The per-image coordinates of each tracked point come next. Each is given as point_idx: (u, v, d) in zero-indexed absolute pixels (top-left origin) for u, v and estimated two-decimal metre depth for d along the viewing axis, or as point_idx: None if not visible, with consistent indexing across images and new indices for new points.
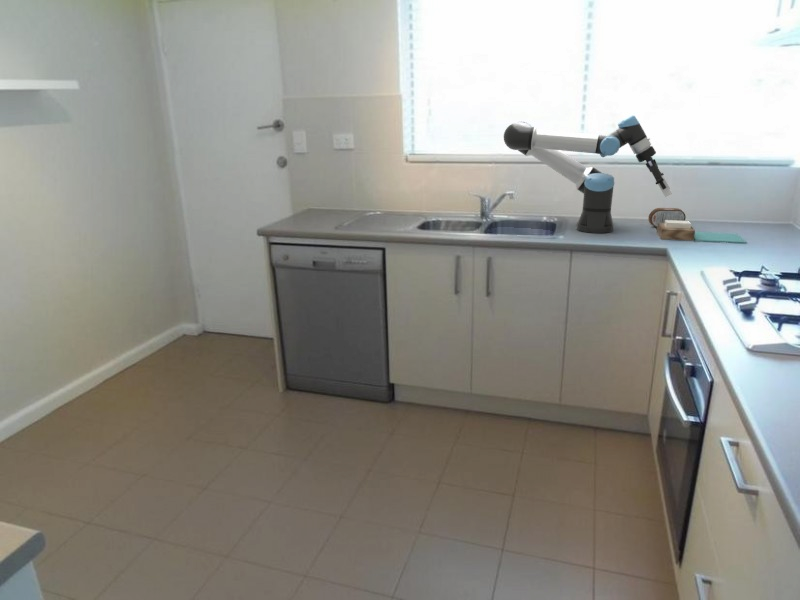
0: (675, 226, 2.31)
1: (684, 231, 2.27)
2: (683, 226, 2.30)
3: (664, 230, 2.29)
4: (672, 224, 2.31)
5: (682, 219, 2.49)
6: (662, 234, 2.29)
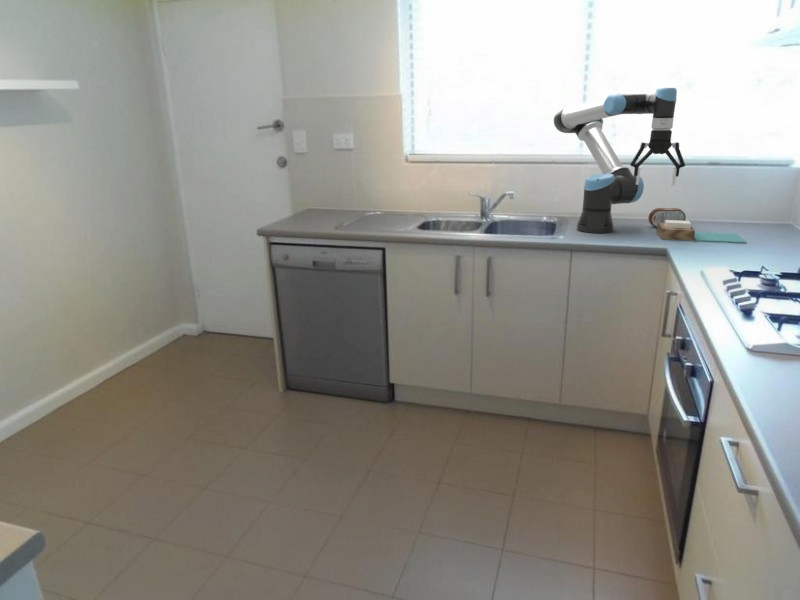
0: (675, 226, 2.31)
1: (684, 231, 2.27)
2: (683, 226, 2.30)
3: (664, 230, 2.29)
4: (672, 224, 2.31)
5: (682, 219, 2.49)
6: (662, 234, 2.29)
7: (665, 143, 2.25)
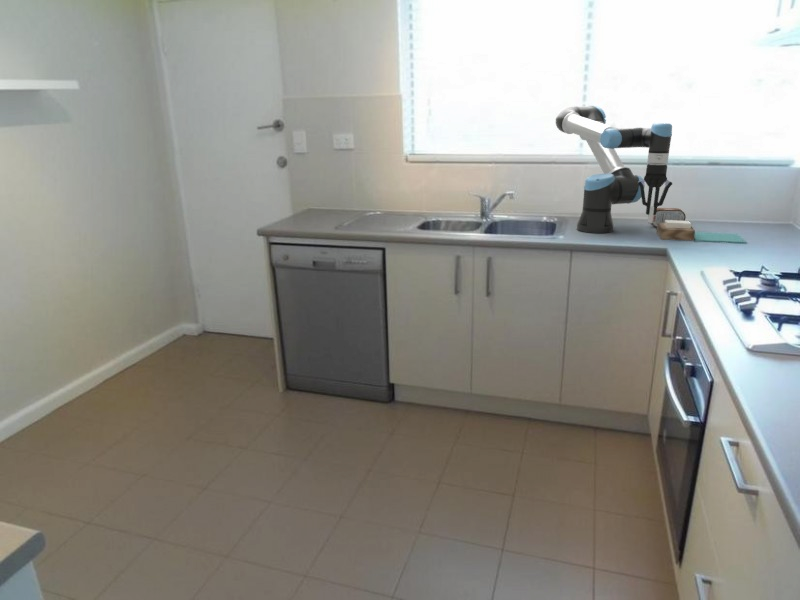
0: (675, 226, 2.31)
1: (684, 231, 2.27)
2: (683, 226, 2.30)
3: (664, 230, 2.29)
4: (672, 224, 2.31)
5: (682, 219, 2.49)
6: (662, 234, 2.29)
7: (662, 176, 2.28)
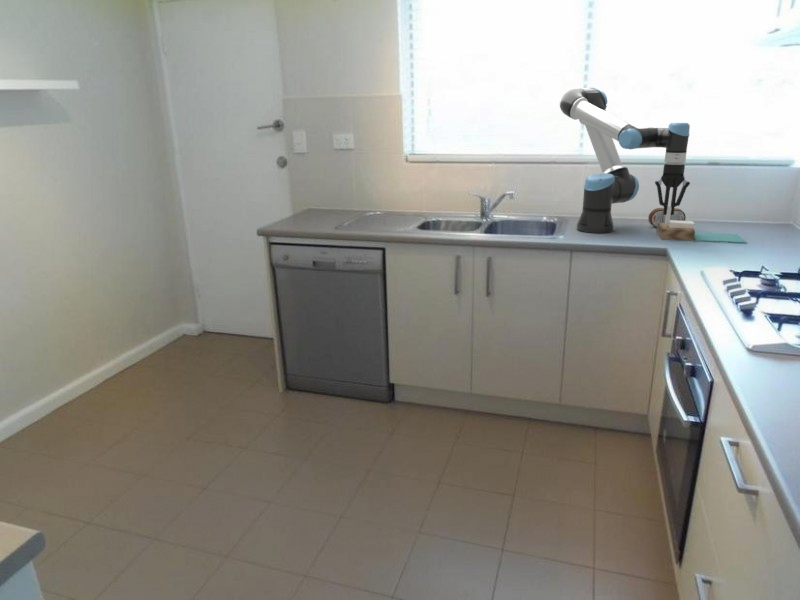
0: (678, 226, 2.30)
1: (684, 231, 2.27)
2: (686, 226, 2.29)
3: (664, 230, 2.29)
4: (675, 224, 2.30)
5: (682, 219, 2.49)
6: (662, 234, 2.29)
7: (680, 175, 2.26)
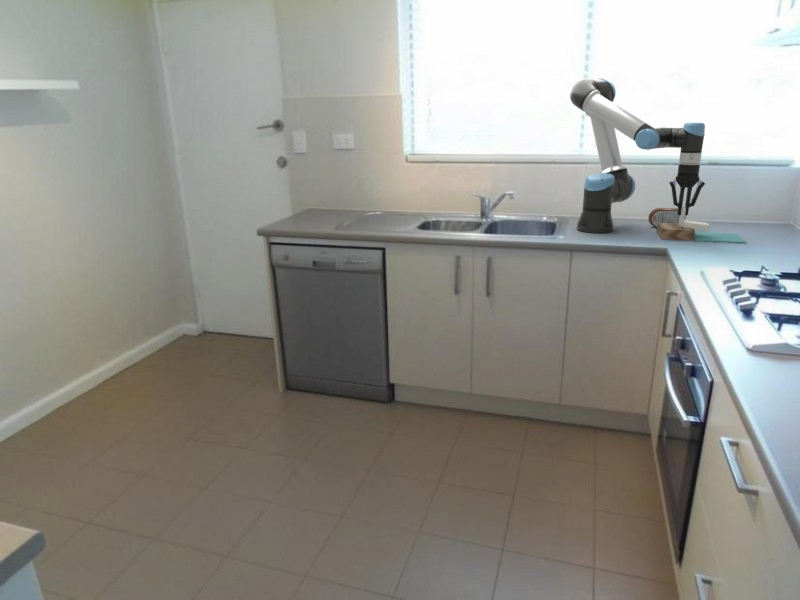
0: (693, 227, 2.29)
1: (684, 231, 2.27)
2: (701, 227, 2.28)
3: (664, 230, 2.29)
4: (690, 224, 2.29)
5: None
6: (662, 234, 2.29)
7: (695, 176, 2.25)
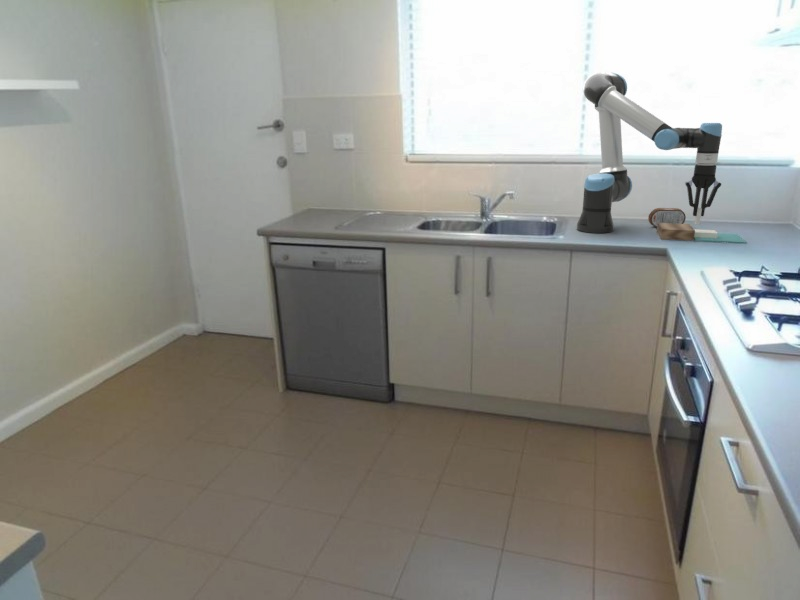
0: (701, 236, 2.29)
1: (684, 231, 2.27)
2: (710, 236, 2.28)
3: (664, 230, 2.29)
4: (698, 234, 2.29)
5: (682, 219, 2.49)
6: (662, 234, 2.29)
7: (711, 176, 2.23)
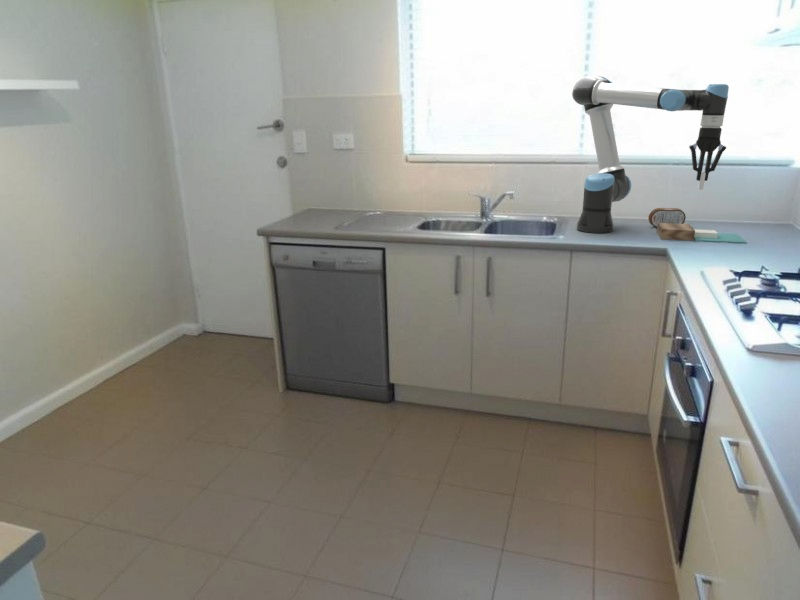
0: (701, 236, 2.29)
1: (684, 231, 2.27)
2: (710, 236, 2.28)
3: (664, 230, 2.29)
4: (698, 234, 2.29)
5: (682, 219, 2.49)
6: (662, 234, 2.29)
7: (716, 139, 2.19)
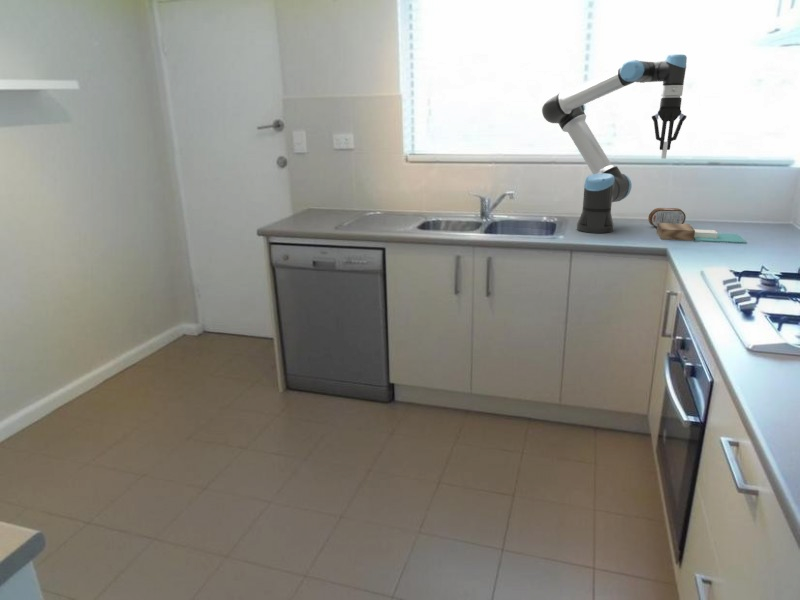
0: (701, 236, 2.29)
1: (684, 231, 2.27)
2: (710, 236, 2.28)
3: (664, 230, 2.29)
4: (698, 234, 2.29)
5: (682, 219, 2.49)
6: (662, 234, 2.29)
7: (677, 109, 2.26)
